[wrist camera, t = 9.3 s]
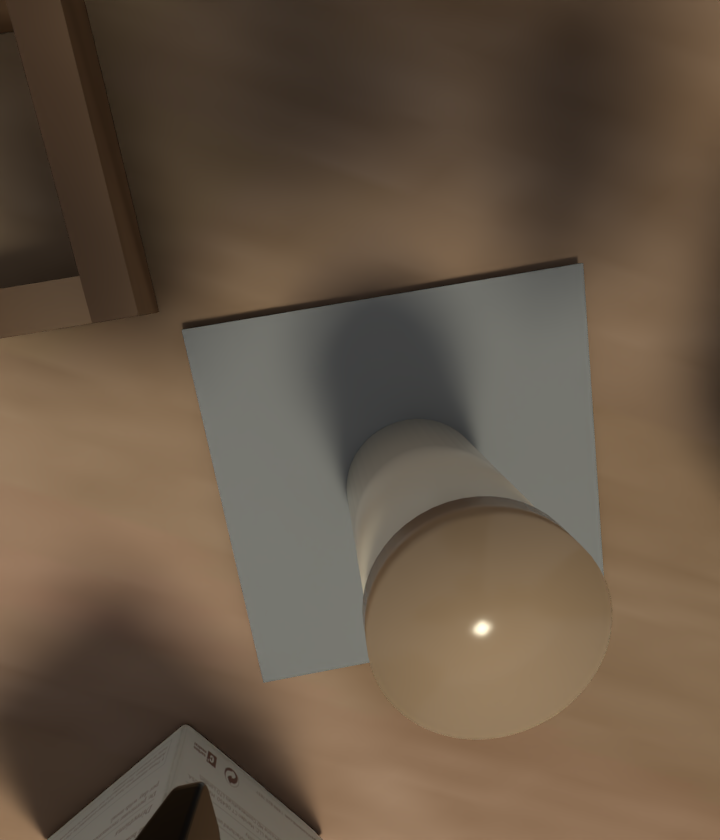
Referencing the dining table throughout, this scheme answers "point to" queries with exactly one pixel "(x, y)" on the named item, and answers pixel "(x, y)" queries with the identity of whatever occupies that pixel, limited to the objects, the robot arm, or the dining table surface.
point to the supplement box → (177, 765)
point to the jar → (468, 588)
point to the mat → (373, 410)
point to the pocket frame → (76, 177)
